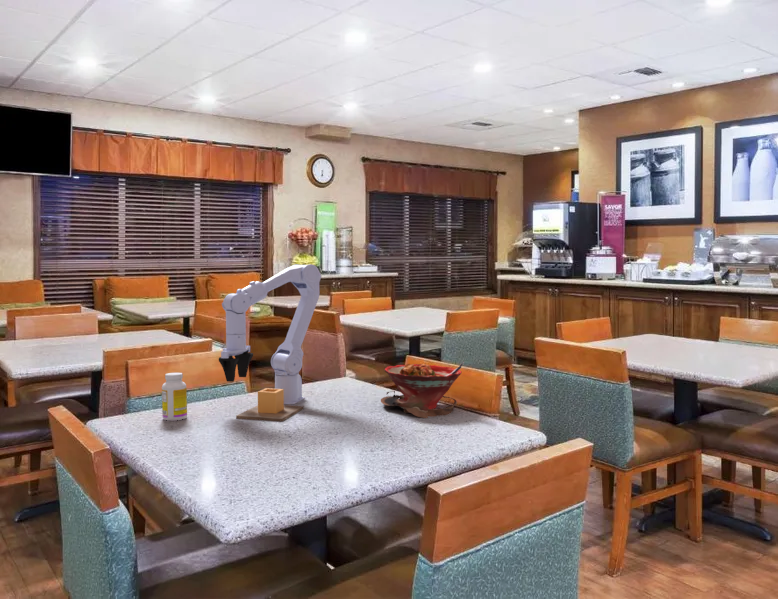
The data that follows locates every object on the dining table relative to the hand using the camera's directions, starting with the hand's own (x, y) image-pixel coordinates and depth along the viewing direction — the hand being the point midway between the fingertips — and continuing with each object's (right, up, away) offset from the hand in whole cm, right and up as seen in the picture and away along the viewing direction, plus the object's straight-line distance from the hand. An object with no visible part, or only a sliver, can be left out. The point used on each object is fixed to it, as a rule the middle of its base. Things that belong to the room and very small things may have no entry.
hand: (236, 379), depth 196 cm
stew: (+56, -10, +2) cm, 57 cm away
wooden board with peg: (+11, -10, -4) cm, 15 cm away
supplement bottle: (-15, -10, -10) cm, 21 cm away
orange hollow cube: (+11, -9, -4) cm, 15 cm away
